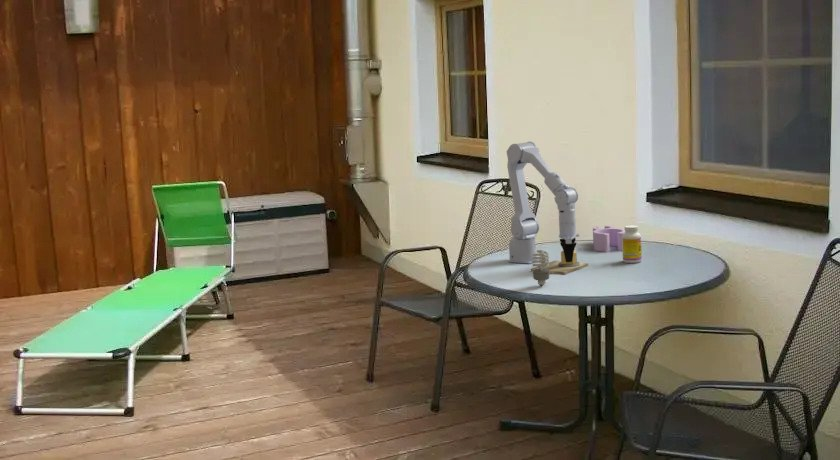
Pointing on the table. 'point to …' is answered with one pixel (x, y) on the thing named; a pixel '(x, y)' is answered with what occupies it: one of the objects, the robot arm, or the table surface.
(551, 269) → the stud plate
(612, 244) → the clip
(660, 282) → the table surface
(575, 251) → the cap
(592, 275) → the table surface
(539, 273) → the light bulb
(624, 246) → the supplement bottle
